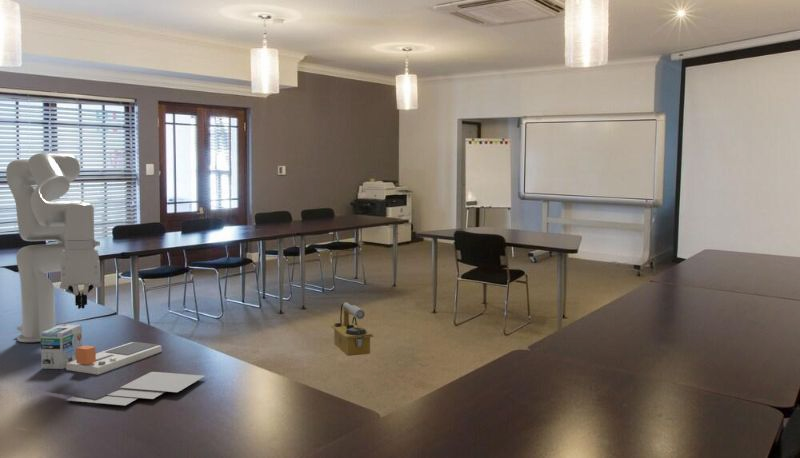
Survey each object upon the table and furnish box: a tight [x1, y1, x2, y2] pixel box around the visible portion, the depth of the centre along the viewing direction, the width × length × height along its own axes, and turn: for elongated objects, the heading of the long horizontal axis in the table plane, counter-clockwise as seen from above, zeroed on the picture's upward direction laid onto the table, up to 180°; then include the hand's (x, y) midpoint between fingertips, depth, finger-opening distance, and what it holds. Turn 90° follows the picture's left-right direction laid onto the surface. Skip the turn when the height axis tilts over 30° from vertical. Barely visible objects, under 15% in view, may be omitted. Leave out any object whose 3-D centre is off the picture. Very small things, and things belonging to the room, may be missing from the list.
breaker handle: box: [76, 344, 97, 365], centre depth 174 cm, size 4×3×4 cm
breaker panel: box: [65, 341, 163, 376], centre depth 184 cm, size 12×25×3 cm, turn 160°
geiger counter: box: [331, 301, 375, 357], centre depth 202 cm, size 9×26×15 cm, turn 22°
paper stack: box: [66, 371, 205, 406], centre depth 160 cm, size 23×25×1 cm
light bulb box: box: [40, 324, 83, 370], centre depth 180 cm, size 11×7×11 cm, turn 179°
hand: (81, 307), depth 178 cm, fingers closed
